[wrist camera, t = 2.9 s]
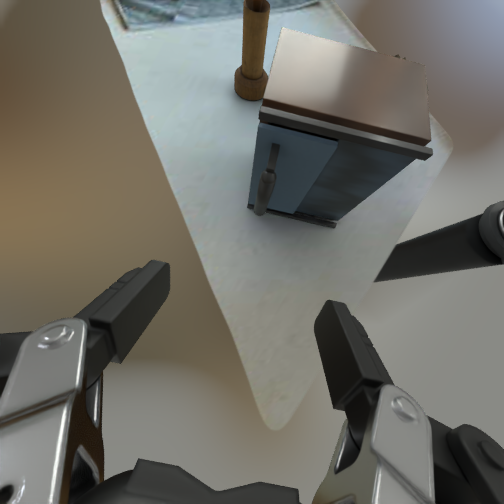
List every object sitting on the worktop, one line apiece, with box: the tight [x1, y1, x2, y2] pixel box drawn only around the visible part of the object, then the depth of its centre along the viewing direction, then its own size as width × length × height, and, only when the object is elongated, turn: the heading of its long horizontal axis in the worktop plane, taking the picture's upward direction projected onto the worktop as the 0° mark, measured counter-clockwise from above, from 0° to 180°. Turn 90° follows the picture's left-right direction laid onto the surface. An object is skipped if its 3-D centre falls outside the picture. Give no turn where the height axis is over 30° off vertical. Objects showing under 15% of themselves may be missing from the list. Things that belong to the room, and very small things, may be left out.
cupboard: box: [247, 27, 433, 228], centre depth 24 cm, size 15×12×16 cm
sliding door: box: [248, 123, 338, 216], centre depth 22 cm, size 7×4×13 cm, turn 78°
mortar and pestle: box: [234, 0, 270, 101], centre depth 29 cm, size 7×6×18 cm
